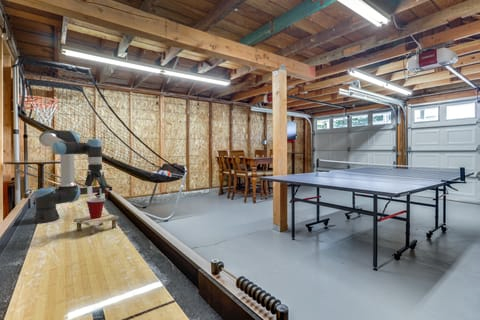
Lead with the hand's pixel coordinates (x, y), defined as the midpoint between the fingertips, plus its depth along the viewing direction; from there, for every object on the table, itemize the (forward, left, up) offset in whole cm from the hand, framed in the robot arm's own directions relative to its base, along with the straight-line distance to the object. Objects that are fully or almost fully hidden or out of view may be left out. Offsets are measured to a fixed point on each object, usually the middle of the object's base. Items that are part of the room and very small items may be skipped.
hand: (96, 197), depth 158 cm
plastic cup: (0, 0, -13) cm, 13 cm away
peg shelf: (0, 0, -20) cm, 20 cm away
